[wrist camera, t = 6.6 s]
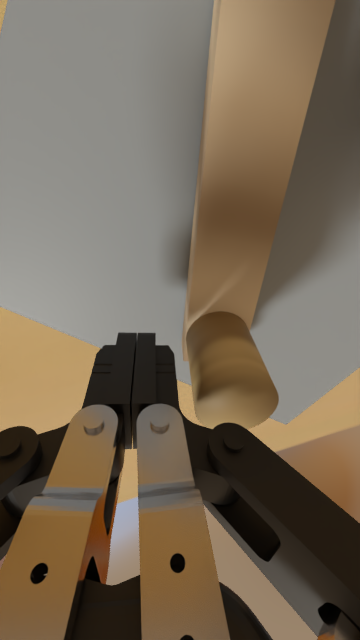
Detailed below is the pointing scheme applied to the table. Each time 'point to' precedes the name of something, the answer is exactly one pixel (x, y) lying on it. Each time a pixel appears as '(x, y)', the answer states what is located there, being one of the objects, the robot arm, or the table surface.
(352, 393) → the table surface
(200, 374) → the link
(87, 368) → the table surface
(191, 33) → the base plate
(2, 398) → the table surface
